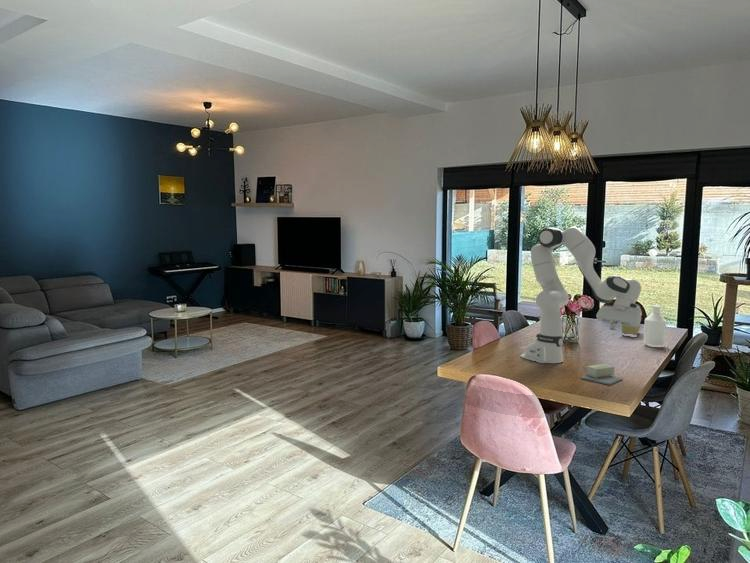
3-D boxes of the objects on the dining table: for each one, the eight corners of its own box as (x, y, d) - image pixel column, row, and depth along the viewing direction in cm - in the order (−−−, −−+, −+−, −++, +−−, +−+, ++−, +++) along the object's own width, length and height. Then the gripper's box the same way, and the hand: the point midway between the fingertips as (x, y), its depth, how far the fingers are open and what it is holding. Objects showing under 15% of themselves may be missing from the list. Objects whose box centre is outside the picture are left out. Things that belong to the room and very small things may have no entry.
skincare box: (604, 372, 266) (585, 374, 261) (604, 363, 266) (586, 365, 261) (614, 375, 261) (596, 378, 256) (615, 366, 260) (596, 369, 255)
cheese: (630, 331, 379) (631, 310, 378) (645, 333, 373) (646, 312, 371) (620, 336, 362) (622, 314, 361) (636, 338, 356) (638, 315, 354)
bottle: (659, 344, 339) (662, 304, 336) (667, 348, 327) (670, 307, 324) (639, 343, 340) (642, 304, 337) (647, 347, 328) (650, 306, 325)
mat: (580, 378, 257) (580, 377, 257) (593, 373, 266) (594, 372, 266) (609, 385, 246) (609, 383, 246) (622, 380, 256) (622, 378, 256)
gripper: (600, 300, 271) (589, 321, 266) (642, 306, 256) (632, 328, 251) (603, 308, 275) (593, 329, 269) (645, 314, 260) (635, 337, 254)
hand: (612, 329), depth 260 cm, fingers closed
